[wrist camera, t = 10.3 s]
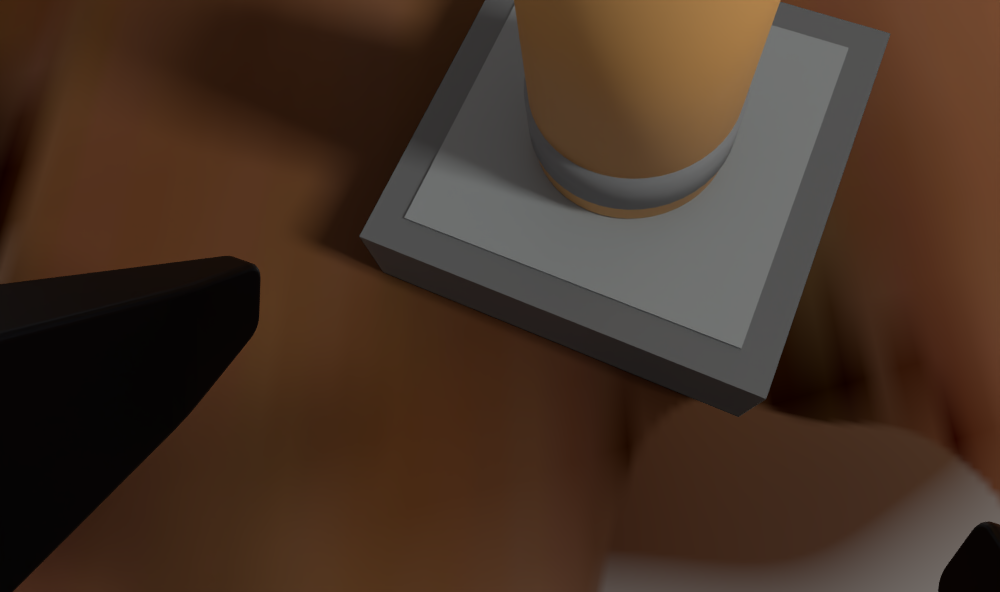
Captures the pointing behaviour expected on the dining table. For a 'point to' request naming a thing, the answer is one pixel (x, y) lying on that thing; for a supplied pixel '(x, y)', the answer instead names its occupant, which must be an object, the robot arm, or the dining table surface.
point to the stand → (638, 241)
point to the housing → (637, 95)
